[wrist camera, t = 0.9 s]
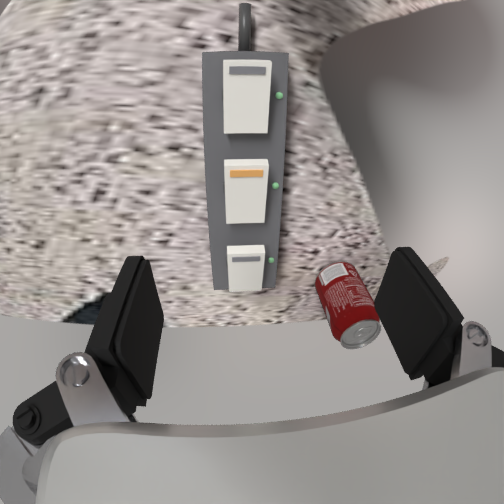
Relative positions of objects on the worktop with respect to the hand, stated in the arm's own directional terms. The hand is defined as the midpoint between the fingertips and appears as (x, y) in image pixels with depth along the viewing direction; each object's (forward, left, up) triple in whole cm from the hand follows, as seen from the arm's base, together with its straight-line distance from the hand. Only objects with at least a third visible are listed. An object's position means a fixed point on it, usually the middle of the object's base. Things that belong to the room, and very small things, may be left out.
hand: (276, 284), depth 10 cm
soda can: (+20, +14, -24) cm, 34 cm away
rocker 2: (+4, 0, -19) cm, 19 cm away
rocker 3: (+13, 0, -19) cm, 23 cm away
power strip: (+1, 0, -24) cm, 24 cm away
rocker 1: (-6, 0, -19) cm, 20 cm away
